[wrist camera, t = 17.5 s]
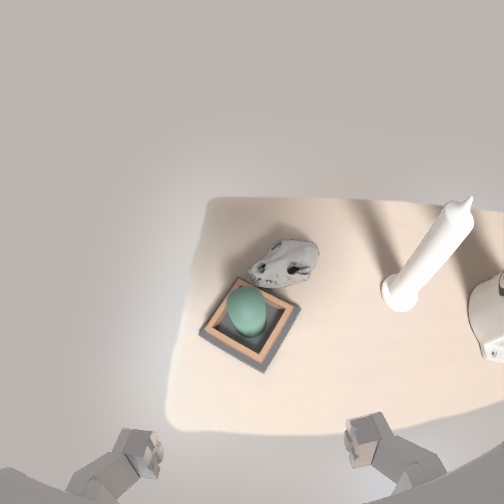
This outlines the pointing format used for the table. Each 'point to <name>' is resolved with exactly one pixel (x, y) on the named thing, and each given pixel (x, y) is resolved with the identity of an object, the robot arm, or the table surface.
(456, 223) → the candle
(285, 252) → the skull
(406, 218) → the table surface
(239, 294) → the green cylinder
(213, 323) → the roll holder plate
